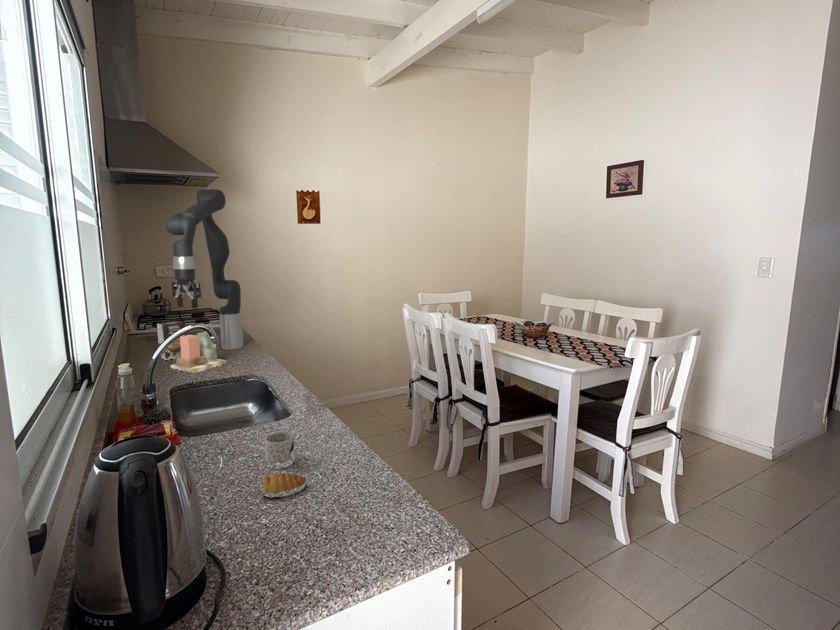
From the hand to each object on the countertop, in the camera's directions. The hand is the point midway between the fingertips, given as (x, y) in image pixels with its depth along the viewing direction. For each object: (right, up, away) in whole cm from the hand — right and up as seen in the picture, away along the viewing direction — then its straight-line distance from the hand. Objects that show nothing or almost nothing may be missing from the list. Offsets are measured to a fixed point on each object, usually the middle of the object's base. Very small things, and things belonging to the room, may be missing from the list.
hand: (187, 307), depth 195 cm
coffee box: (-16, -22, +21) cm, 35 cm away
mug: (+60, -39, -76) cm, 104 cm away
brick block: (0, -21, +3) cm, 21 cm away
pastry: (+64, -41, -90) cm, 118 cm away
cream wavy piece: (+1, -24, +7) cm, 26 cm away
